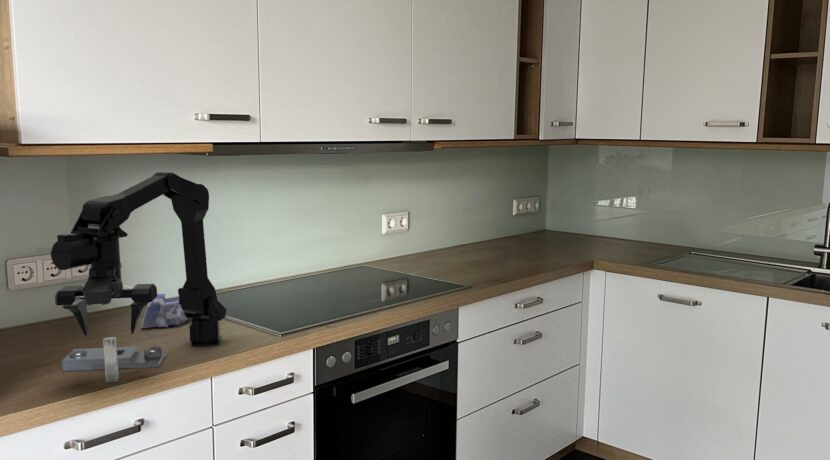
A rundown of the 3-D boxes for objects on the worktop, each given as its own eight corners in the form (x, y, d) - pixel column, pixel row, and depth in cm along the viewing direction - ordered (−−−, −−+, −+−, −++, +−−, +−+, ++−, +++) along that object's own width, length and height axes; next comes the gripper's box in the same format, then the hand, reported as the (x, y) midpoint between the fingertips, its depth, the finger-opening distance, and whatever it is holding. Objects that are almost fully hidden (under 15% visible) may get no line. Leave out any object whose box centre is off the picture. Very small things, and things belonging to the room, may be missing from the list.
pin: (119, 377, 148) (117, 336, 147) (116, 381, 146) (114, 340, 145) (107, 378, 148) (105, 337, 147) (104, 382, 146) (101, 340, 144)
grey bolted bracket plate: (165, 355, 163) (165, 343, 163) (158, 367, 155) (158, 354, 155) (74, 359, 160) (74, 347, 160) (62, 371, 152) (62, 358, 152)
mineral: (146, 298, 180) (139, 288, 188) (143, 334, 181) (136, 322, 189) (202, 298, 187) (193, 288, 196) (199, 332, 189) (190, 321, 197)
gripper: (42, 270, 134) (48, 348, 136) (143, 267, 137) (147, 344, 139) (62, 259, 145) (67, 331, 147) (155, 257, 148) (159, 328, 150)
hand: (109, 334), depth 146 cm, fingers open, 9 cm apart
